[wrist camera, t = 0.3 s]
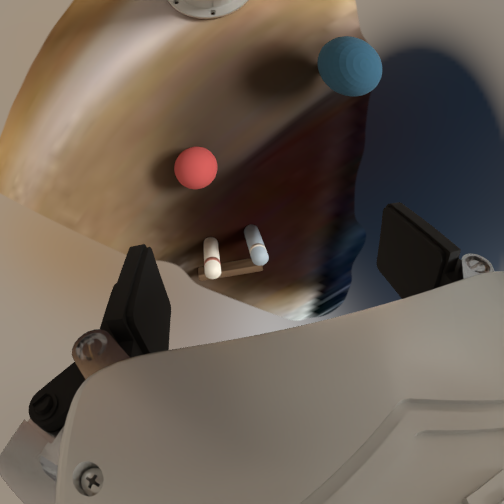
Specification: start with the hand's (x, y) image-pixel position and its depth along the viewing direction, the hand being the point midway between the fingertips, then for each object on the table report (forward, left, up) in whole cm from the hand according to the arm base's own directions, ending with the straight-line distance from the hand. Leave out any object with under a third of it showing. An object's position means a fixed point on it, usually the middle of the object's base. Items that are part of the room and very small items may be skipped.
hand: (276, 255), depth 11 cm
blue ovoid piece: (-9, +17, -34) cm, 39 cm away
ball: (+4, -4, -31) cm, 32 cm away
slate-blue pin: (+17, +3, -34) cm, 38 cm away
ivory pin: (+18, -4, -34) cm, 39 cm away
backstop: (+23, -2, -34) cm, 41 cm away
